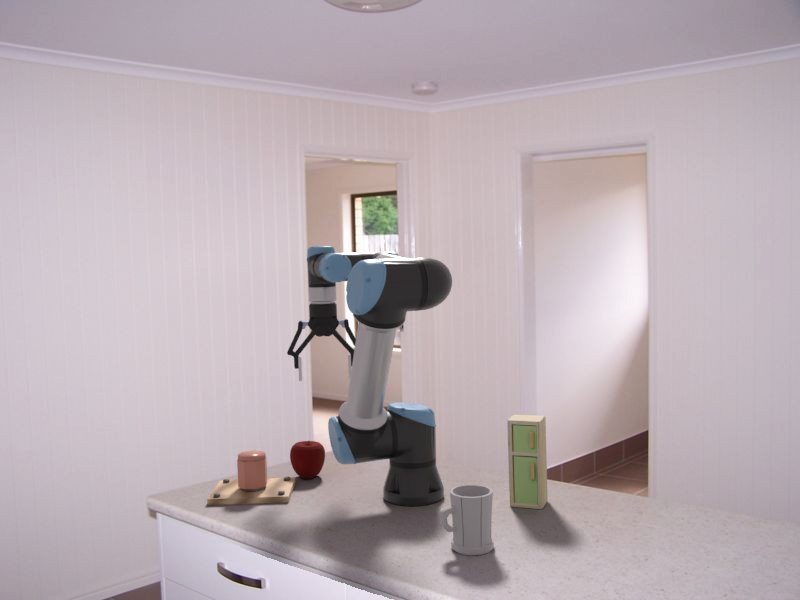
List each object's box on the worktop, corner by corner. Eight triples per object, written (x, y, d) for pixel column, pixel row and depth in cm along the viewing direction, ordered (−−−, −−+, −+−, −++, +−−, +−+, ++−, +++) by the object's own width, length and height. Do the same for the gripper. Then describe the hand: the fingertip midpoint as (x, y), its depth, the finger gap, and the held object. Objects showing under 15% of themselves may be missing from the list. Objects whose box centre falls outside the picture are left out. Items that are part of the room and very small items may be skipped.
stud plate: (295, 482, 209) (294, 454, 209) (288, 502, 193) (287, 471, 193) (220, 485, 209) (219, 456, 208) (207, 505, 193) (206, 474, 192)
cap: (236, 489, 197) (235, 458, 196) (241, 481, 204) (240, 451, 203) (264, 488, 197) (263, 457, 197) (268, 480, 204) (267, 450, 204)
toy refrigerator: (507, 507, 185) (506, 420, 183) (515, 498, 192) (513, 413, 190) (541, 511, 182) (540, 422, 180) (547, 501, 189) (546, 415, 187)
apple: (323, 481, 209) (322, 445, 209) (288, 482, 209) (286, 446, 209) (327, 471, 219) (326, 436, 218) (293, 472, 219) (292, 437, 218)
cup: (478, 562, 153) (477, 502, 153) (438, 553, 158) (436, 495, 157) (501, 544, 162) (500, 487, 162) (462, 536, 167) (461, 481, 166)
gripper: (367, 300, 219) (370, 375, 220) (277, 303, 217) (280, 378, 218) (368, 301, 211) (371, 379, 212) (275, 304, 209) (278, 383, 210)
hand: (325, 379), depth 215 cm, fingers open, 13 cm apart
